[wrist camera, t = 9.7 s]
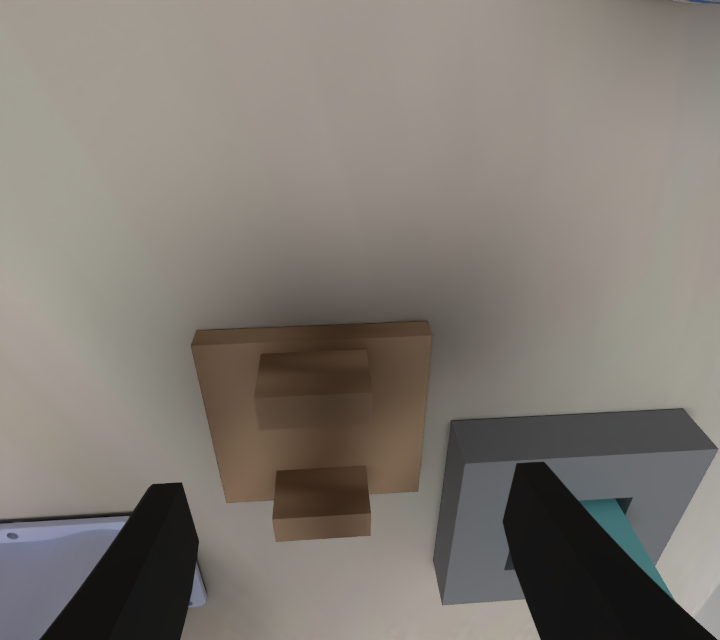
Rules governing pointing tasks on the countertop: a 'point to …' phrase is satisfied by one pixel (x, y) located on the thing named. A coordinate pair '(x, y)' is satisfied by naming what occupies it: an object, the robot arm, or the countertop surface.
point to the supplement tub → (698, 1)
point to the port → (577, 472)
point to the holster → (316, 418)
